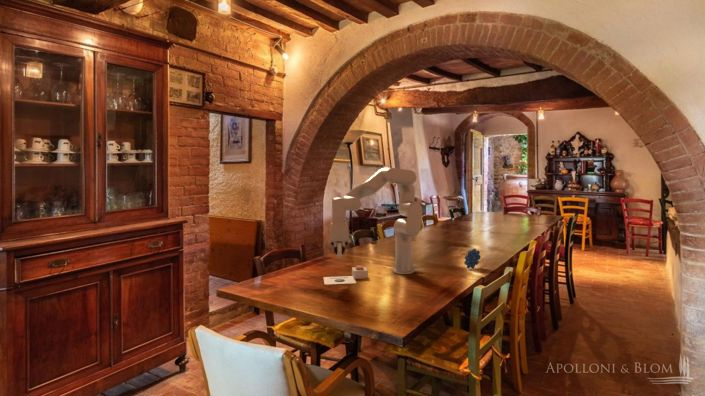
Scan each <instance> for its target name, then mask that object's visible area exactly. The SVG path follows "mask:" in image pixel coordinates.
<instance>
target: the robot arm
mask: <svg viewBox="0 0 705 396" xmlns="http://www.w3.org/2000/svg"><path fill="white" fill-rule="evenodd" d="M417 178H418V177H417V175H416V173H415V171H414V170H411V169H403V168H397V167H383V168H380V169H378V171H376V172H375V173H374V174H373V175H371V177H370V178H368V179H367V180H365V181H364V182H363V183H360V184H359V185H357V186H355V187H354V188H352V189H351V190H349V191H348V192H347V193H345V194H344V195H343V197H341V196H340V197H339V196H338V197H333V198H332V200H331V218H332V219H331V222H330V225H329V237H328V239H327V243H328V244H330V245H331V246H332V247H333V252H334V254H335V255H336V256H337V242H339V241H342V255H344V253H345V252H346V251H345V249H346V248H345V247H347V246H348V244H350V243H352V239H351V237H350V233H349V226H348V225H349V224H348V222H349V221H350V220H349V219H350V218H349V217H347V211H349V212H355V211H358V210H360V208H361V207H362V202H361V201H362V200H361V199H363V198H365V197H370V196H372V195H375V194H376V193H377V192H379V191H380V190H381V189H382V188H383V187H384V186H385V185H387V184H397V186H398V189H399V199H398V201H399V203H398V213H399V215H401V216H402V217H405V218H398V219H396V220H395V221H394V224H393V231H394V237H395V238H394V239H395V240H394V241H395V242H394V243H395V249H394V253H395V258H394V259H395V261H394V262H395V264H394V266H395V267H394V268H393V269H392V272H393V273H395V274H399V275H410V274H414V273H415V269H417V270H419V269H420V268H421V267H420V265H419V264H413V263H412V259H413V258H412V256H413V255H412V254H413V250H412V248H413V247H412V246H413V243H412V238H416V237H417V236H418V235H419V234H420V231H421V228H422V219H423V218H422V217H423V207H422V205H421V203H420V202H418V201H415V195H416V194H415V191H416V190H415V186H414V184H415V183H416V181H417Z"/></svg>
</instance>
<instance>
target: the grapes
mask: <svg viewBox="0 0 705 396" xmlns="http://www.w3.org/2000/svg"><path fill="white" fill-rule="evenodd" d="M480 252H481V251H480V250H477V249H476V248H473V249H471V250H468V252H467V254H466V255H465V256H464V265H465V266H466V268H467V269H470V268H471V269H474V268H475V267H476V266H477V265H479V263H480V259H481V258H482V257H481V255H480Z"/></svg>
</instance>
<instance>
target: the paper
mask: <svg viewBox="0 0 705 396" xmlns="http://www.w3.org/2000/svg"><path fill="white" fill-rule="evenodd" d="M323 283H324V286H328V285H329V286H330V285H331V286H334V285H354V284H357V281H356V279H354V278H353V276H352V275H342V276H323Z"/></svg>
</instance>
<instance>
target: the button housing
mask: <svg viewBox="0 0 705 396" xmlns="http://www.w3.org/2000/svg"><path fill="white" fill-rule="evenodd" d="M368 271H369V270H368V268H367V267H366V266H363V270H356V266H355V267H353V266H352V267H351V276H353V278H354V279H355V280H360V279H363V280H365V279H368V277H369V276H368V274H369V272H368Z"/></svg>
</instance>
